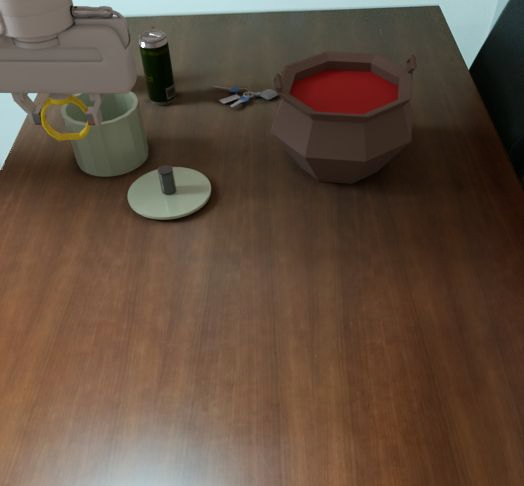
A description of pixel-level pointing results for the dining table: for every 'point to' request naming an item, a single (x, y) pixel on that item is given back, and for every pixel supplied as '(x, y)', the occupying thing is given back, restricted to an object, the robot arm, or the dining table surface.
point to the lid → (169, 193)
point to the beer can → (157, 67)
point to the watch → (61, 100)
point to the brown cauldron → (344, 113)
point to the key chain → (265, 94)
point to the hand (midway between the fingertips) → (67, 123)
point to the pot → (108, 135)
